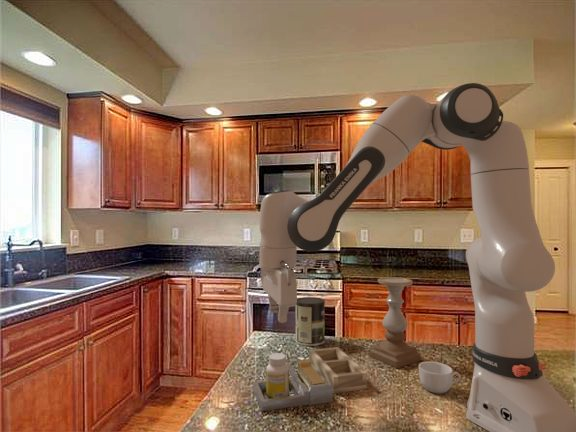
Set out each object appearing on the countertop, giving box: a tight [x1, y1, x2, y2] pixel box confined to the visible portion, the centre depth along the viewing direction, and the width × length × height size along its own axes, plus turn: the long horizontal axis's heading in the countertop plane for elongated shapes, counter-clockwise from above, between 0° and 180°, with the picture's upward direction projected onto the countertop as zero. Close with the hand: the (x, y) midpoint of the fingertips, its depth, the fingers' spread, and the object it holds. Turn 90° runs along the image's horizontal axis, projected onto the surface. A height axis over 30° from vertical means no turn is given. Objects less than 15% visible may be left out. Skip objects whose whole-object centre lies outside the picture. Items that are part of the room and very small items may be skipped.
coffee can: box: [294, 296, 326, 347], centre depth 122 cm, size 10×10×14 cm
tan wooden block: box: [297, 358, 325, 389], centre depth 89 cm, size 12×3×5 cm, turn 16°
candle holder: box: [369, 276, 422, 369], centre depth 108 cm, size 11×11×24 cm
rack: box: [308, 346, 368, 395], centre depth 96 cm, size 18×9×4 cm, turn 16°
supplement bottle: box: [265, 352, 290, 399], centre depth 84 cm, size 5×5×10 cm
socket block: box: [252, 363, 333, 412], centre depth 90 cm, size 20×17×4 cm
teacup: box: [418, 361, 462, 395], centre depth 88 cm, size 10×8×5 cm
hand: (277, 316), depth 84 cm, fingers open, 7 cm apart
